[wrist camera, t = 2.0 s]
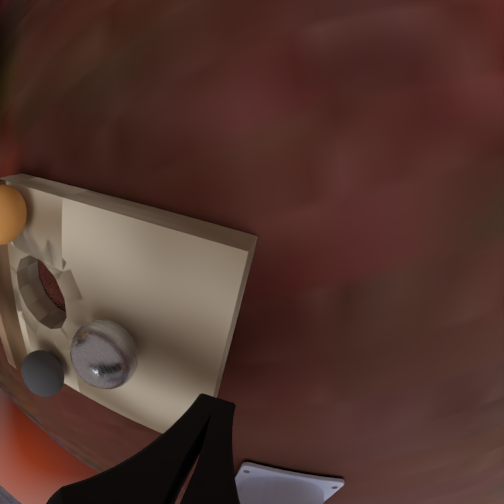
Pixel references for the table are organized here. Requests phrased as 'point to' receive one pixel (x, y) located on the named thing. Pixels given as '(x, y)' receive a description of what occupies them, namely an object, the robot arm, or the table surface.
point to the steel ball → (104, 354)
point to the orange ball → (11, 213)
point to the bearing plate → (125, 292)
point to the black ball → (42, 373)
